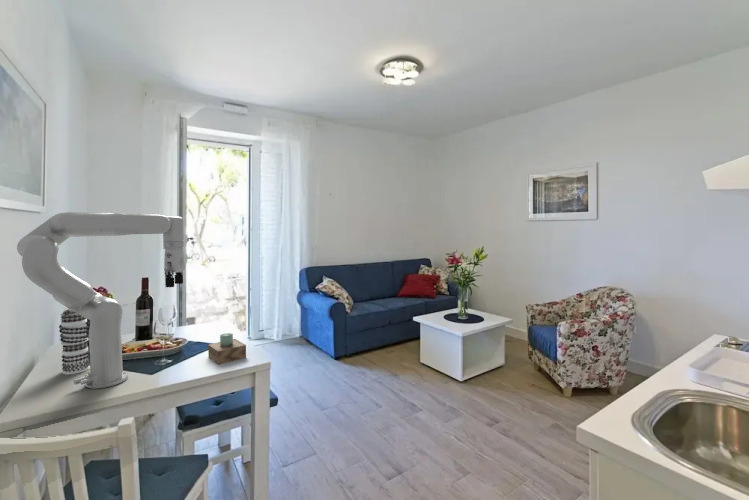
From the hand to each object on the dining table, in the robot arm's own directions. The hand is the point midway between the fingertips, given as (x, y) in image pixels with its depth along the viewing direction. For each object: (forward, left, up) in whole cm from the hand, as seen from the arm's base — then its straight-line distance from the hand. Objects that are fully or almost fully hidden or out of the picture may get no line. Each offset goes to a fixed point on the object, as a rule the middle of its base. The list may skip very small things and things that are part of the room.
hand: (174, 285), depth 148 cm
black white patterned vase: (-28, +23, -33) cm, 49 cm away
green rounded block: (+15, -14, -28) cm, 34 cm away
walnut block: (+15, -14, -33) cm, 39 cm away
